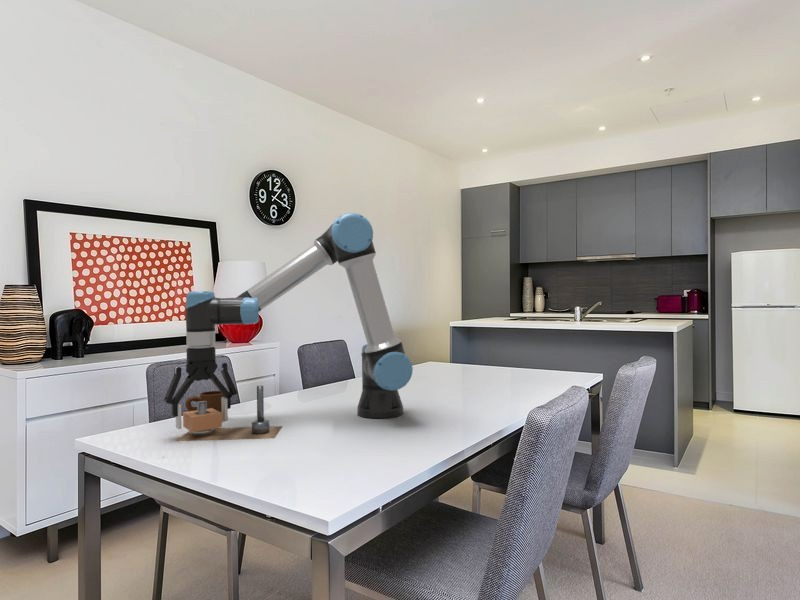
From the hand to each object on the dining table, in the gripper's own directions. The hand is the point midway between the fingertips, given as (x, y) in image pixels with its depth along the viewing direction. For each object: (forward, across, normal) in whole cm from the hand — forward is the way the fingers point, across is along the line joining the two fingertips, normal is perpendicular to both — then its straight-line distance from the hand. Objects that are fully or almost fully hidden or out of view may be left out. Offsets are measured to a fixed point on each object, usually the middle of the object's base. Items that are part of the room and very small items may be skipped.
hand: (202, 424), depth 145 cm
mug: (+4, -6, -15) cm, 17 cm away
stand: (+3, -13, +9) cm, 16 cm away
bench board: (+4, -7, +5) cm, 9 cm away
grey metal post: (+3, 0, 0) cm, 3 cm away
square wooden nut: (+1, 0, 0) cm, 1 cm away
